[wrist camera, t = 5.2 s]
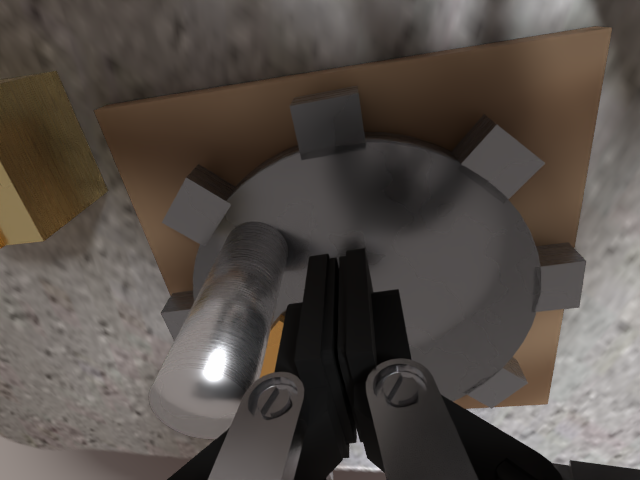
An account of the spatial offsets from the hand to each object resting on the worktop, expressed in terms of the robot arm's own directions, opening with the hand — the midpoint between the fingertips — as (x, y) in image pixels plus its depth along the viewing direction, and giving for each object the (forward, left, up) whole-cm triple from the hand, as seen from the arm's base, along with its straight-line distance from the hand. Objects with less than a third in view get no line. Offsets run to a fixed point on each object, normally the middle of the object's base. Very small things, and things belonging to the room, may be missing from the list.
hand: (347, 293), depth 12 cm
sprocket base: (+4, 0, -7) cm, 8 cm away
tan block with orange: (-4, -12, -7) cm, 15 cm away
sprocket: (+4, 0, -5) cm, 6 cm away
